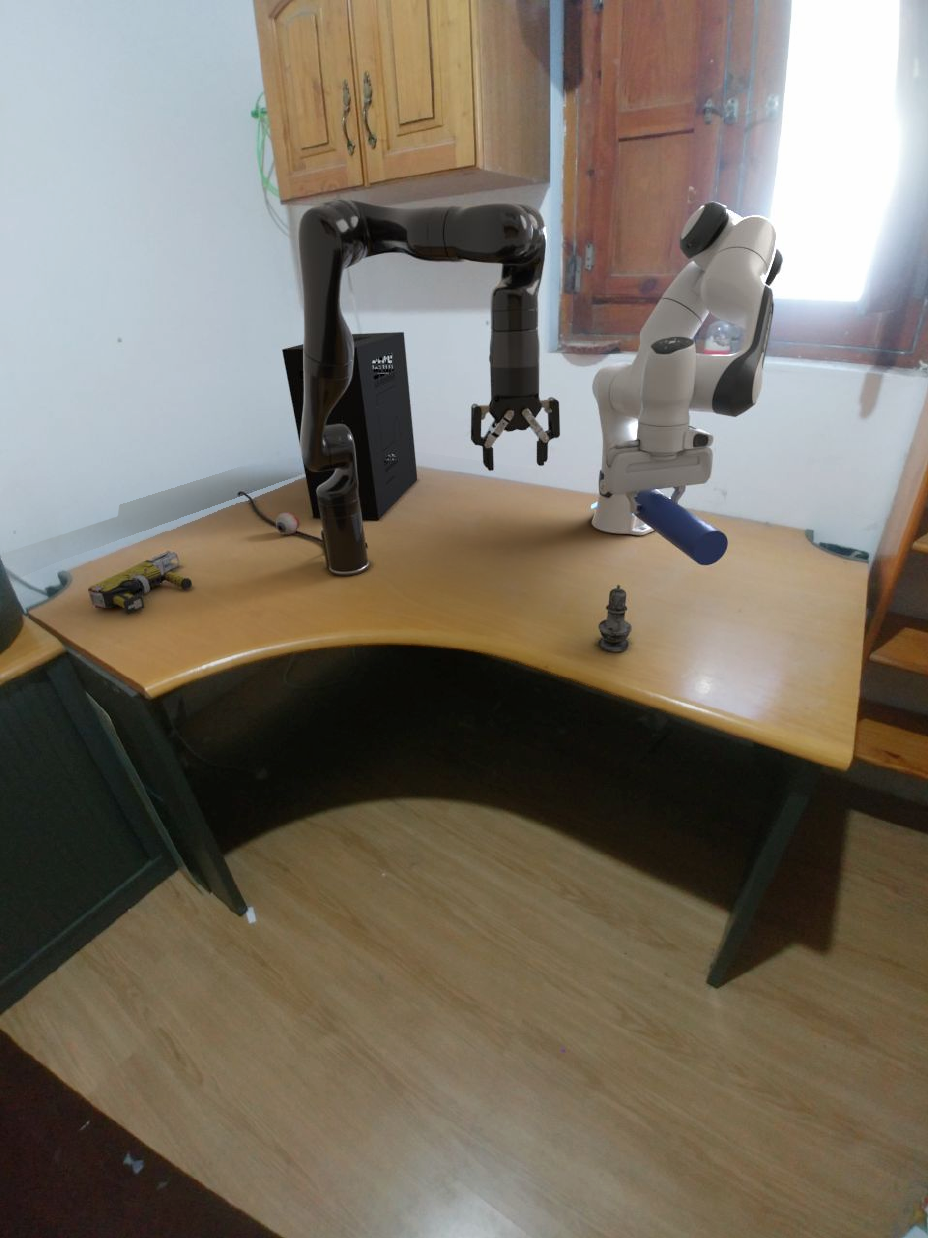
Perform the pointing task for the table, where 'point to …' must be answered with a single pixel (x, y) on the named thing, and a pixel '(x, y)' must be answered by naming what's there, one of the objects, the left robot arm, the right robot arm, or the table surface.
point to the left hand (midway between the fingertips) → (515, 467)
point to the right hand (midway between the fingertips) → (653, 510)
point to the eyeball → (287, 523)
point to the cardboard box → (368, 420)
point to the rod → (681, 527)
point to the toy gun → (136, 583)
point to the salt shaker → (615, 623)
